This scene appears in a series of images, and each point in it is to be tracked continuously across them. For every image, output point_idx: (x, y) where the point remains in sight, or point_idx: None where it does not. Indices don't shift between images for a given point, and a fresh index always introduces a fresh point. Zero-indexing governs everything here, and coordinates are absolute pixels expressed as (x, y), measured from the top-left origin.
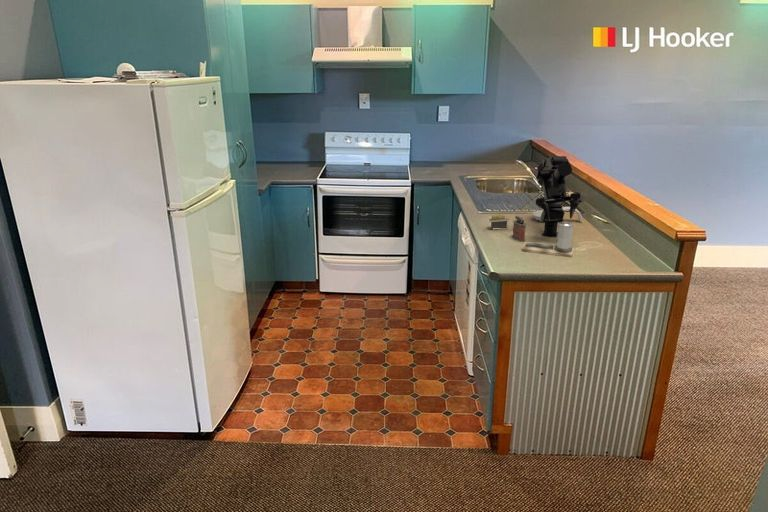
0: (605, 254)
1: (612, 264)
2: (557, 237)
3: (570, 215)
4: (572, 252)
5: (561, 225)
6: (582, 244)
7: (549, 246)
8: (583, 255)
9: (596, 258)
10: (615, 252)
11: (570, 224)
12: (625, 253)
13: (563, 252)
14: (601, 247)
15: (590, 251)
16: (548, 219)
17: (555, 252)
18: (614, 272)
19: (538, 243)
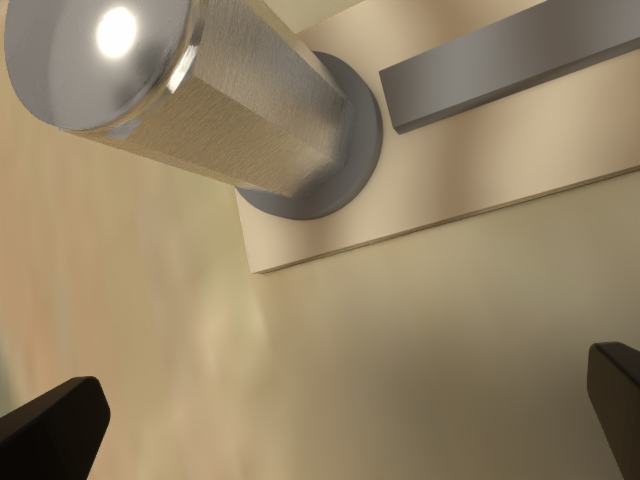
0: (78, 301)
1: (25, 138)
2: (308, 60)
3: (41, 401)
4: None
5: None
6: (249, 468)
7: (415, 66)
8: (175, 182)
9: (103, 180)
10: (43, 383)
11: (30, 14)
12: (3, 396)
13: None
14: (124, 456)
15: (160, 308)
16: (606, 349)
17: (334, 25)
18: (3, 24)
19: (607, 161)
